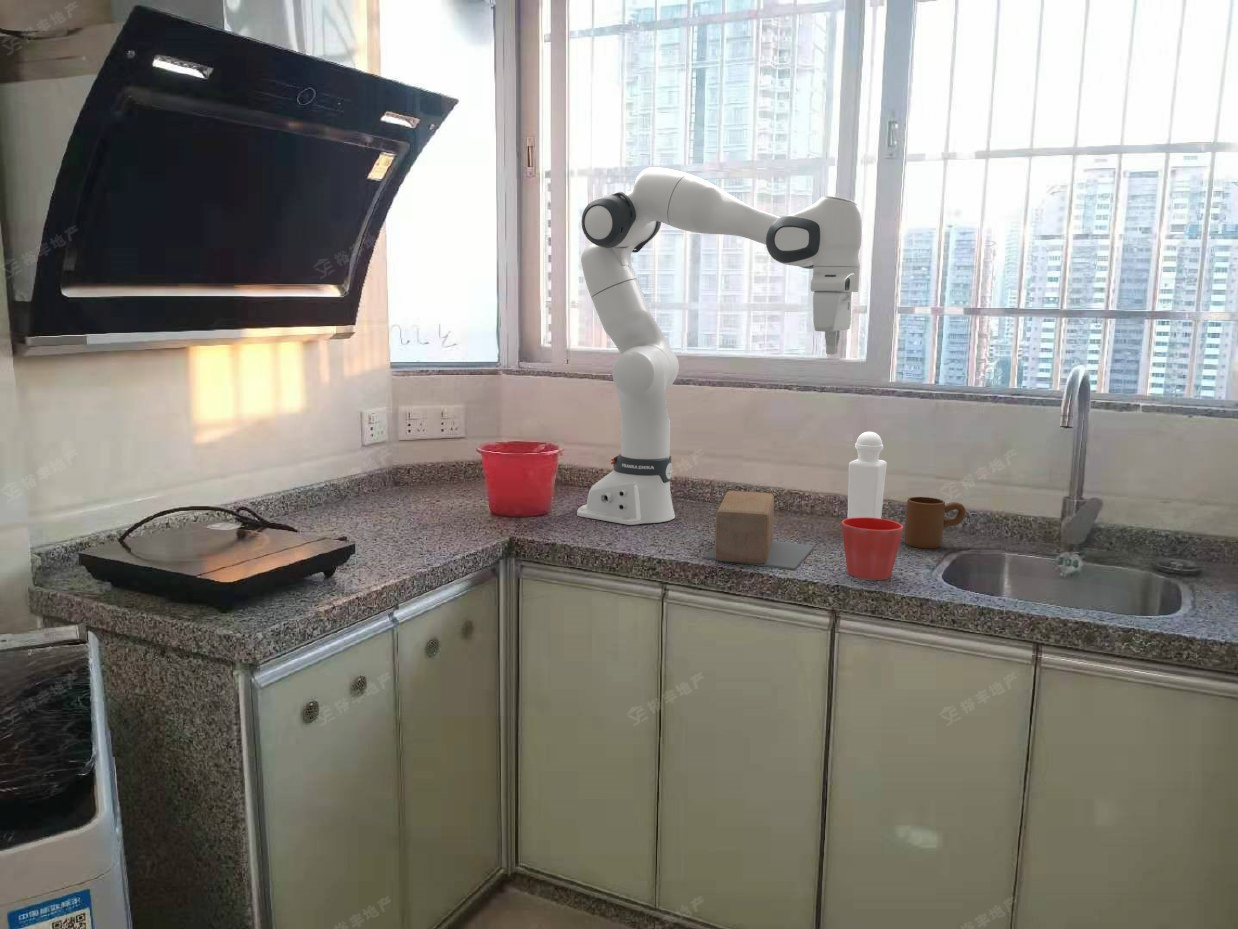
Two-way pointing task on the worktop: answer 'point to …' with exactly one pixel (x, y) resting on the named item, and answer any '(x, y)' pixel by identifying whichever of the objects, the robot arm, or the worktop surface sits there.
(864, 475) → the white bottle
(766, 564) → the rubber mat
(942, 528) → the mug
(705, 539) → the worktop surface
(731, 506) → the wooden block
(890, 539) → the flower pot
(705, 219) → the robot arm
